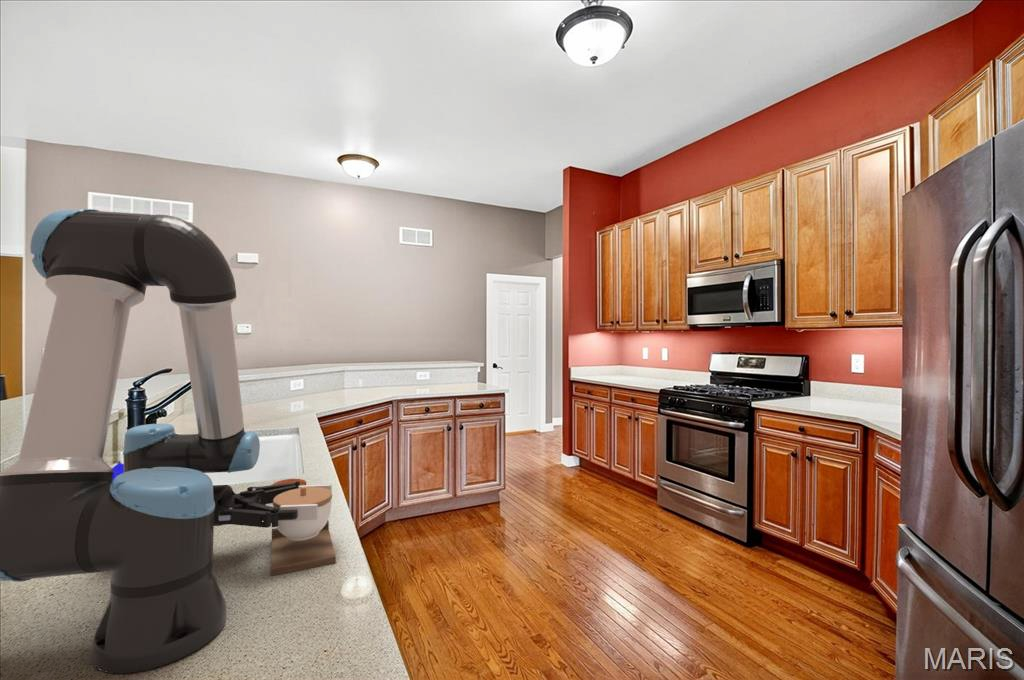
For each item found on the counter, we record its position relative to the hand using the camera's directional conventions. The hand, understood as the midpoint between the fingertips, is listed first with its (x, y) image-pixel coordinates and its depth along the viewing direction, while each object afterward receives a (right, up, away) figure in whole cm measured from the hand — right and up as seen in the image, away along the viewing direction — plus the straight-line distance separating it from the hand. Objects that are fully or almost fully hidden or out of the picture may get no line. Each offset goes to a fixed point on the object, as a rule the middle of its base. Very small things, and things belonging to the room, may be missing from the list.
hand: (324, 500), depth 92 cm
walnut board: (-4, -10, -1) cm, 11 cm away
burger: (-23, -10, +31) cm, 40 cm away
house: (-52, -10, +16) cm, 56 cm away
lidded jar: (-4, -7, -1) cm, 8 cm away
